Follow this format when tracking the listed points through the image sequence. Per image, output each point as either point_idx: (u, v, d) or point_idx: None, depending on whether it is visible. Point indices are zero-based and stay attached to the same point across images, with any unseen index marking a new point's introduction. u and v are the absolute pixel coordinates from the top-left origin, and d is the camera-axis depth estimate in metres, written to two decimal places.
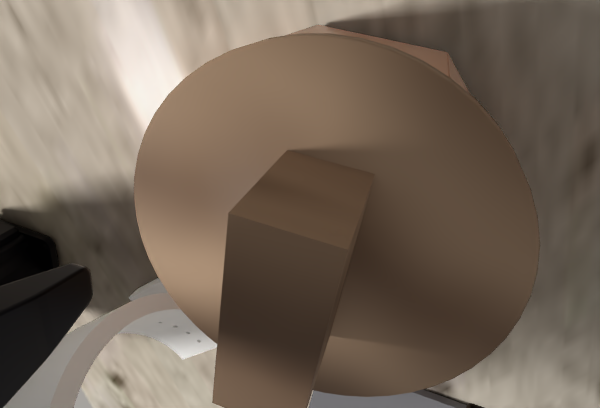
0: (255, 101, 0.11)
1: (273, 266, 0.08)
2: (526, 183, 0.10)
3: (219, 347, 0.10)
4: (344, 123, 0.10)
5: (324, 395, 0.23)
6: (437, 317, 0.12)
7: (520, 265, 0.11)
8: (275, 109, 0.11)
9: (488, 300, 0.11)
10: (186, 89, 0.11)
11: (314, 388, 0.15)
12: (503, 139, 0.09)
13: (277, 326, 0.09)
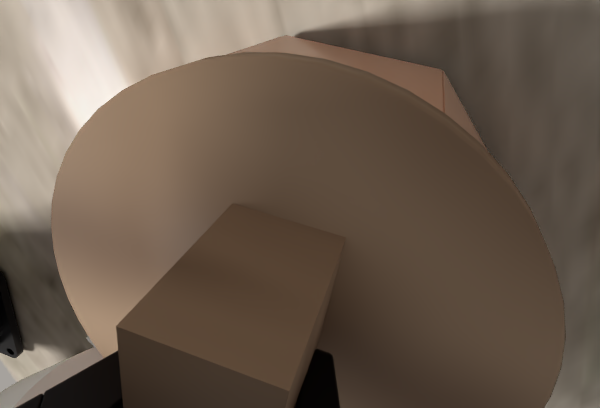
0: (188, 141, 0.08)
1: (188, 398, 0.06)
2: (549, 258, 0.07)
3: None
4: (303, 172, 0.08)
5: None
6: None
7: (538, 357, 0.08)
8: (215, 152, 0.08)
9: (495, 395, 0.09)
10: (101, 123, 0.09)
11: None
12: (518, 201, 0.07)
13: None
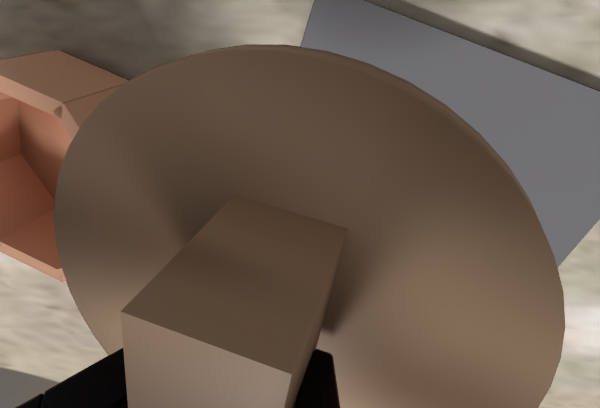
0: (191, 133, 0.08)
1: (190, 383, 0.06)
2: (548, 248, 0.07)
3: None
4: (304, 164, 0.08)
5: None
6: (430, 402, 0.10)
7: (538, 348, 0.08)
8: (217, 144, 0.08)
9: (495, 386, 0.09)
10: (103, 116, 0.09)
11: None
12: (518, 190, 0.07)
13: None
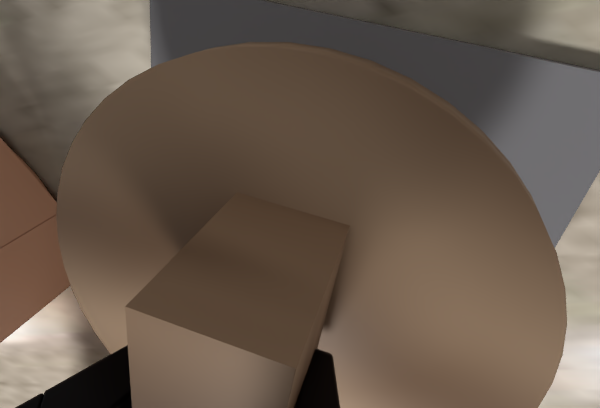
0: (193, 130, 0.08)
1: (195, 379, 0.06)
2: (550, 245, 0.07)
3: None
4: (307, 161, 0.08)
5: None
6: (432, 399, 0.10)
7: (539, 344, 0.08)
8: (220, 141, 0.08)
9: (498, 383, 0.09)
10: (107, 113, 0.09)
11: None
12: (520, 187, 0.07)
13: None
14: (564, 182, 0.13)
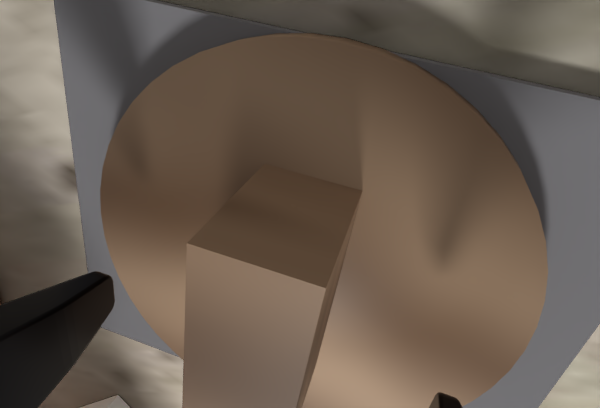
0: (228, 109, 0.10)
1: (241, 304, 0.07)
2: (533, 203, 0.09)
3: (185, 389, 0.09)
4: (327, 134, 0.09)
5: (155, 336, 0.15)
6: (433, 347, 0.11)
7: (526, 292, 0.10)
8: (251, 118, 0.10)
9: (490, 330, 0.10)
10: (152, 95, 0.10)
11: None
12: (507, 153, 0.08)
13: (248, 370, 0.08)
14: None
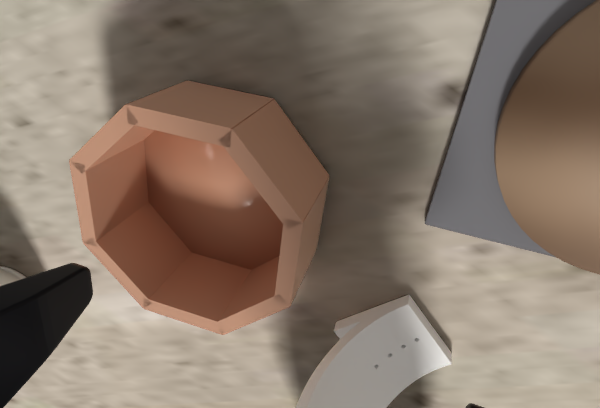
0: None
1: None
2: None
3: None
4: None
5: (487, 227, 0.19)
6: None
7: None
8: None
9: None
10: None
11: None
12: None
13: None
14: None
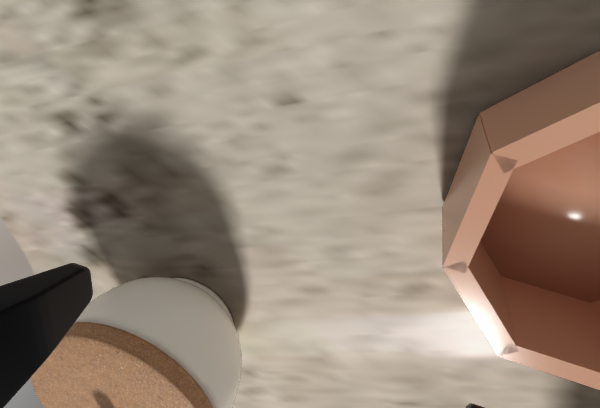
0: None
1: None
2: None
3: None
4: None
5: None
6: None
7: None
8: None
9: None
10: None
11: None
12: None
13: None
14: None
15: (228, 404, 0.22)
